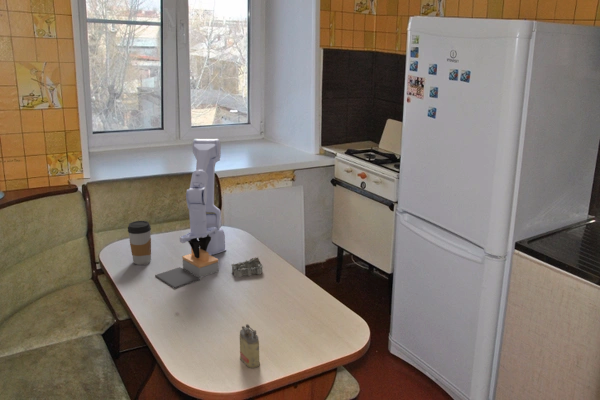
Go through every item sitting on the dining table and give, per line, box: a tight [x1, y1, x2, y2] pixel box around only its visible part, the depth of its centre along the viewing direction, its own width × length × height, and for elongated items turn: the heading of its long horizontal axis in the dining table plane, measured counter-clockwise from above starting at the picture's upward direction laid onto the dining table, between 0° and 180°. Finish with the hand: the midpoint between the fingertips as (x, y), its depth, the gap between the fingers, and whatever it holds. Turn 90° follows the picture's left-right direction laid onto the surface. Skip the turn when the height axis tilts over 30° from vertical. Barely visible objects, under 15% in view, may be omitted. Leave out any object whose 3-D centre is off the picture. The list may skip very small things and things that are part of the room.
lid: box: [182, 248, 219, 268], centre depth 206 cm, size 8×11×5 cm
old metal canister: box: [239, 323, 261, 369], centre depth 150 cm, size 7×4×10 cm, turn 34°
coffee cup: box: [127, 220, 152, 266], centre depth 212 cm, size 8×8×15 cm
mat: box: [154, 266, 201, 289], centre depth 200 cm, size 10×13×1 cm
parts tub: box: [182, 259, 220, 279], centre depth 207 cm, size 8×11×4 cm
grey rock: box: [230, 256, 264, 278], centre depth 205 cm, size 11×8×4 cm
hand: (200, 256), depth 206 cm, fingers closed on lid
